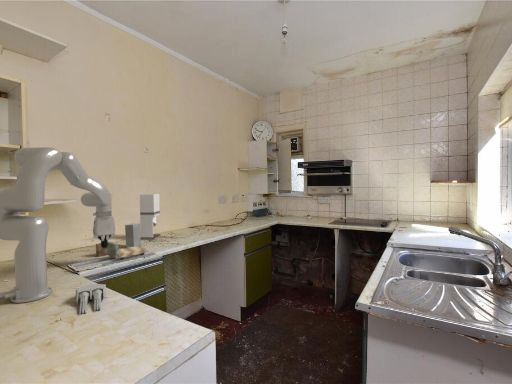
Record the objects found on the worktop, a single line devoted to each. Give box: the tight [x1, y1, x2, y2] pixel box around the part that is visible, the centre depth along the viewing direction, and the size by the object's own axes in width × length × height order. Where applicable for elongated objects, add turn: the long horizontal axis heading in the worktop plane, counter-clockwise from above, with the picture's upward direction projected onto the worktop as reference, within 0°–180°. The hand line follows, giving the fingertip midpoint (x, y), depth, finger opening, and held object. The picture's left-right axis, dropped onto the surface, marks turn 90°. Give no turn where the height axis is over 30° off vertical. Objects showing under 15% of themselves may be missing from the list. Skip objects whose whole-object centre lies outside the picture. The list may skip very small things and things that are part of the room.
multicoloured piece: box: [106, 241, 148, 260], centre depth 158 cm, size 18×12×9 cm
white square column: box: [139, 193, 161, 241], centre depth 208 cm, size 11×11×35 cm
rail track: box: [68, 250, 157, 269], centre depth 152 cm, size 42×16×1 cm, turn 140°
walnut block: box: [95, 242, 108, 258], centre depth 162 cm, size 5×5×7 cm
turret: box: [75, 283, 107, 315], centre depth 99 cm, size 10×20×5 cm, turn 30°
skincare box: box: [124, 223, 142, 248], centre depth 182 cm, size 8×7×16 cm
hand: (104, 247), depth 148 cm, fingers closed
